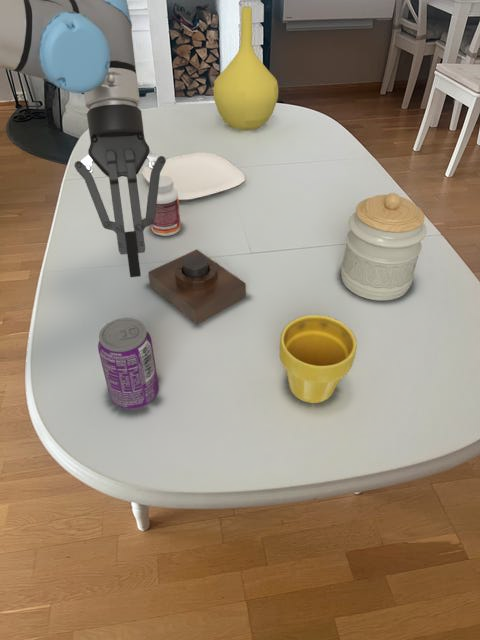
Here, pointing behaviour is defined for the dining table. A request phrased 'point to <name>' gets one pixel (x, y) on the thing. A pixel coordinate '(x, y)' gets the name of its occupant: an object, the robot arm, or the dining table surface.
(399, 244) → the jar
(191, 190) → the plate
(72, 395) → the dining table surface
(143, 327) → the beverage can
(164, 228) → the pill bottle
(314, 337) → the flower pot
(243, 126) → the vase
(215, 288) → the button box
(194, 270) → the button
